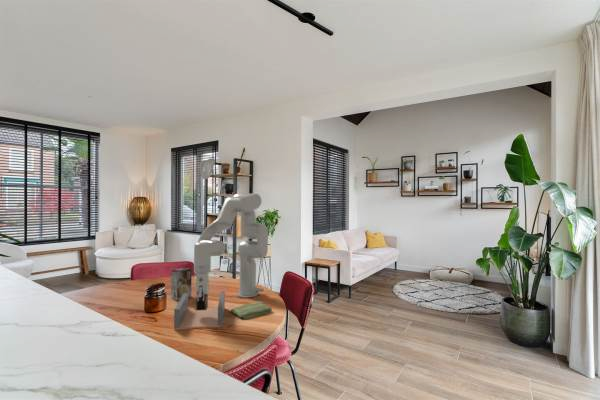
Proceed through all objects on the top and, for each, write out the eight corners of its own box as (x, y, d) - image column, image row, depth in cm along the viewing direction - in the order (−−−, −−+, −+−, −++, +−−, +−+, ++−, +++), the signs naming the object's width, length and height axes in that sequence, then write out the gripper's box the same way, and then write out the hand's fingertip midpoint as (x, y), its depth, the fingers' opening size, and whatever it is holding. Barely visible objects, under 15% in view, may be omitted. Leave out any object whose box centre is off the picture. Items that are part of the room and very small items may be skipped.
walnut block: (207, 306, 147) (207, 293, 147) (206, 310, 142) (206, 297, 142) (196, 306, 146) (196, 294, 146) (195, 310, 141) (195, 297, 141)
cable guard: (224, 309, 158) (224, 291, 158) (222, 327, 135) (222, 306, 135) (183, 311, 154) (183, 293, 154) (174, 330, 131) (174, 309, 131)
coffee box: (185, 294, 180) (185, 267, 180) (191, 296, 176) (192, 268, 176) (170, 298, 172) (170, 269, 172) (176, 300, 168) (177, 271, 168)
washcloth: (229, 312, 153) (229, 306, 153) (260, 305, 164) (260, 299, 164) (241, 321, 142) (241, 314, 142) (273, 313, 153) (273, 306, 153)
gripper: (208, 272, 137) (208, 313, 137) (212, 264, 154) (211, 301, 153) (191, 273, 135) (190, 314, 135) (196, 265, 152) (195, 301, 152)
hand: (201, 306), depth 144 cm, fingers closed on walnut block, 5 cm apart
